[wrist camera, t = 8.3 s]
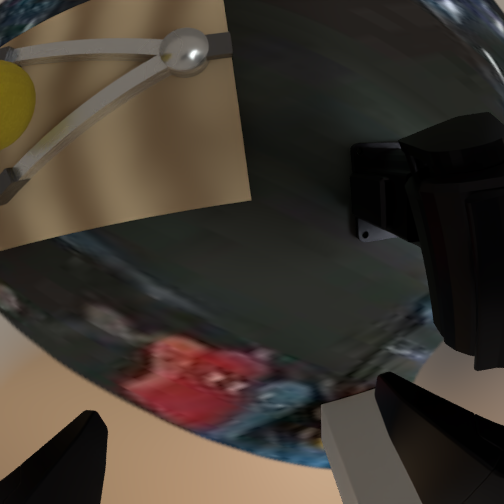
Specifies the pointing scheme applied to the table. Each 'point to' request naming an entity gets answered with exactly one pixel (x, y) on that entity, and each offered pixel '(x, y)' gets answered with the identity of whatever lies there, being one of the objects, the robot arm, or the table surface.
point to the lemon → (14, 102)
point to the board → (127, 128)
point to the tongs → (117, 93)
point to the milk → (364, 453)
